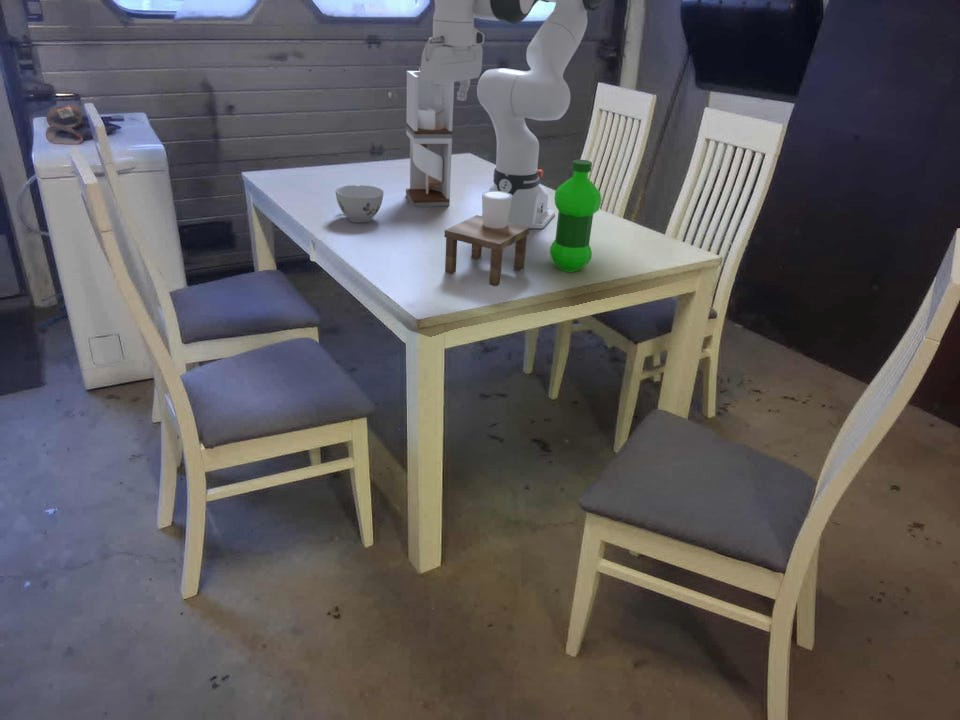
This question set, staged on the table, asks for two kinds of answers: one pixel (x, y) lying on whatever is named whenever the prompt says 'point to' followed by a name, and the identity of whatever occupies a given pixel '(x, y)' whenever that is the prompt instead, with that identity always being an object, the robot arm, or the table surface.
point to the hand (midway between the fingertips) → (450, 102)
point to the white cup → (496, 208)
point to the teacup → (359, 201)
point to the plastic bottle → (575, 218)
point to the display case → (429, 143)
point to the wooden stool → (486, 244)
